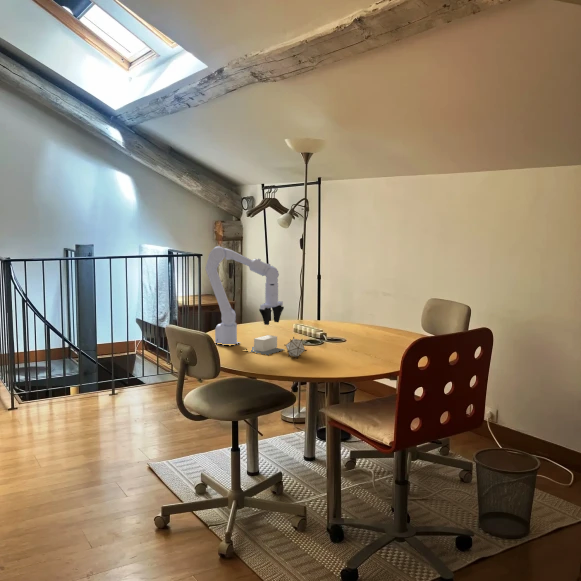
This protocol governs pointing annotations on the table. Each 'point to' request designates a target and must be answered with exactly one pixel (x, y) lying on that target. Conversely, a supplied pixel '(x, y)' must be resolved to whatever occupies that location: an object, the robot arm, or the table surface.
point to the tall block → (265, 343)
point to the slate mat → (267, 351)
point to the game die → (295, 347)
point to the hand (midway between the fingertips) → (271, 323)
